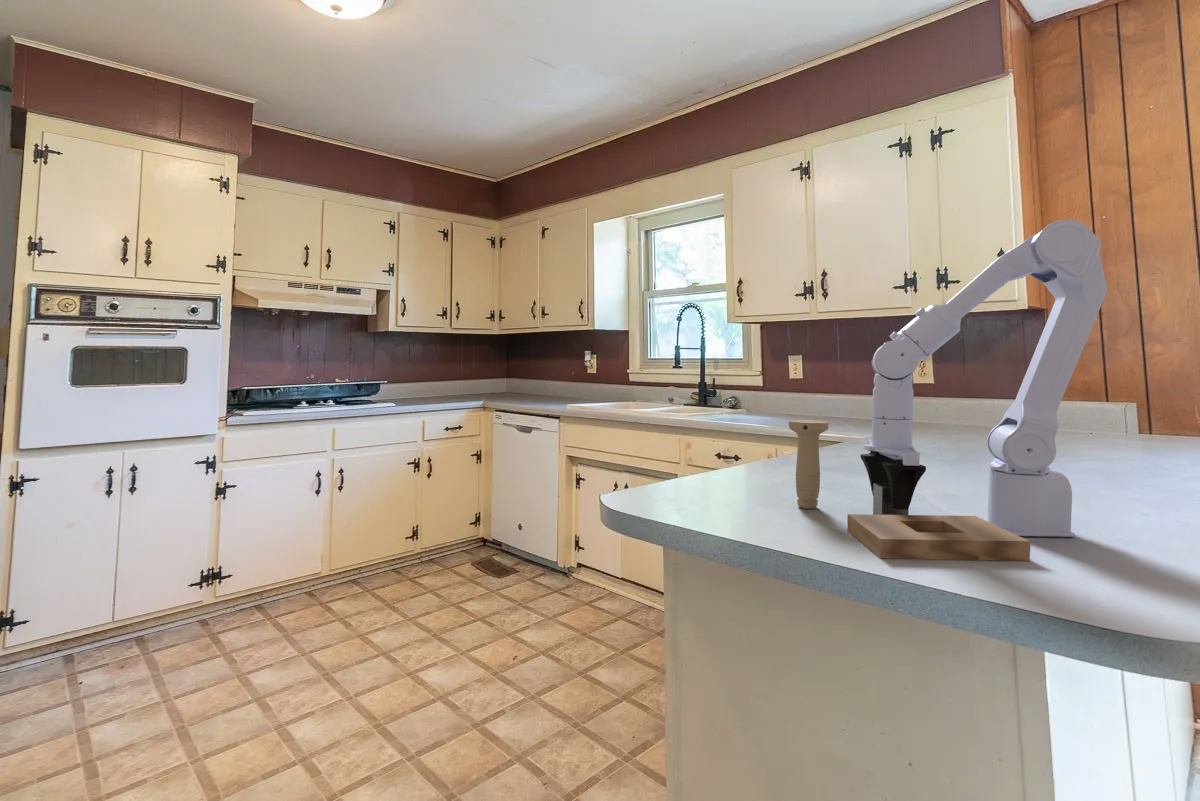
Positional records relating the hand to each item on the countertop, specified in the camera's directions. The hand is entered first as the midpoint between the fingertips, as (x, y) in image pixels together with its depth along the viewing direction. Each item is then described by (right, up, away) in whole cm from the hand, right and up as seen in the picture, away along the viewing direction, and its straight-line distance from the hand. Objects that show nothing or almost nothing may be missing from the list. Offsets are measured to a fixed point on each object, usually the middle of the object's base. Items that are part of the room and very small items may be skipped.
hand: (889, 502), depth 90 cm
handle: (-10, -2, +8) cm, 13 cm away
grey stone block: (0, -3, 0) cm, 3 cm away
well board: (-1, -3, -13) cm, 13 cm away
